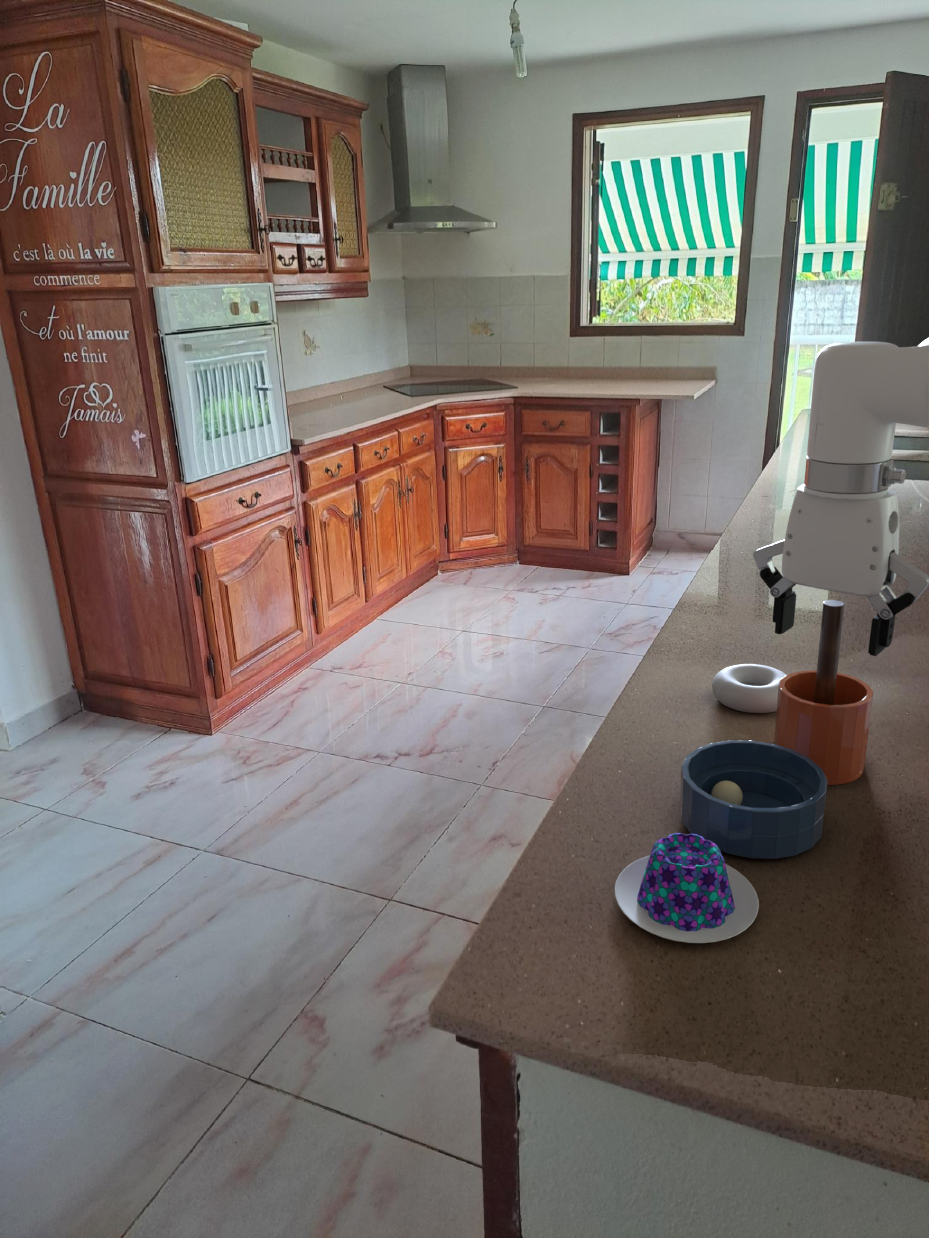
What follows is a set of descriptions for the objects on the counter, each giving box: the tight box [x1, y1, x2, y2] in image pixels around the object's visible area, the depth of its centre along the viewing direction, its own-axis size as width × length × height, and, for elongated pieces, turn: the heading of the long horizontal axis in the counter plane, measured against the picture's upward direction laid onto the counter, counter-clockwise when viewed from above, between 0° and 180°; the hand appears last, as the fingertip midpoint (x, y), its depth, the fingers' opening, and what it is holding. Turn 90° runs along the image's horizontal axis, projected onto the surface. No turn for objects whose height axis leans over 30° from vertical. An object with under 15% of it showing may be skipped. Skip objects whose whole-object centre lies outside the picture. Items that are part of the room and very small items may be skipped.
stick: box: [814, 599, 845, 705], centre depth 92 cm, size 2×2×18 cm
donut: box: [711, 663, 787, 714], centre depth 110 cm, size 10×4×10 cm
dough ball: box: [711, 781, 743, 805], centre depth 87 cm, size 3×3×3 cm
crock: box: [773, 669, 874, 786], centre depth 94 cm, size 9×9×9 cm
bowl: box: [679, 739, 828, 860], centre depth 85 cm, size 13×13×6 cm
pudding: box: [614, 832, 760, 944], centre depth 75 cm, size 12×12×5 cm
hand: (829, 640), depth 91 cm, fingers open, 9 cm apart
